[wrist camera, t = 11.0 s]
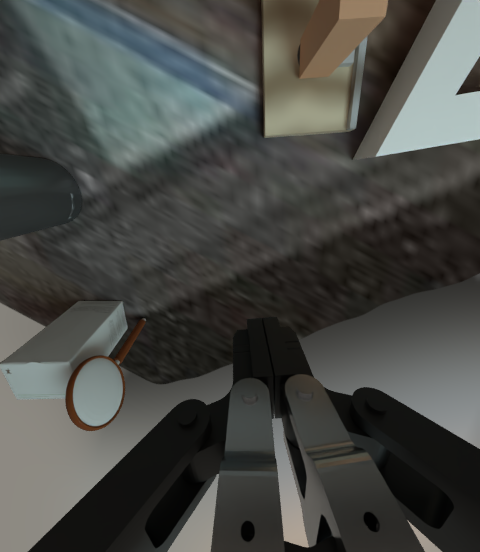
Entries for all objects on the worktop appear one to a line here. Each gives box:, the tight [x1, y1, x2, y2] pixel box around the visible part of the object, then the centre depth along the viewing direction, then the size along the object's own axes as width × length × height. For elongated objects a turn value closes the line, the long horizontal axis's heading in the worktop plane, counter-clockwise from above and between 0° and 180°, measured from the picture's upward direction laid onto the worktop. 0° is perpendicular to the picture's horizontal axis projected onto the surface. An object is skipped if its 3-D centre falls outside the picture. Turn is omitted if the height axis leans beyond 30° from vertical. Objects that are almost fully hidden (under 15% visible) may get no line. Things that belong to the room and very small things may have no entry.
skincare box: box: [0, 301, 128, 399], centre depth 35 cm, size 8×7×16 cm
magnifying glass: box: [65, 318, 146, 431], centre depth 33 cm, size 9×2×20 cm, turn 19°
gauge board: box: [261, 0, 367, 138], centre depth 25 cm, size 22×12×2 cm, turn 4°
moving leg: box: [299, 0, 388, 79], centre depth 21 cm, size 4×6×11 cm, turn 94°
